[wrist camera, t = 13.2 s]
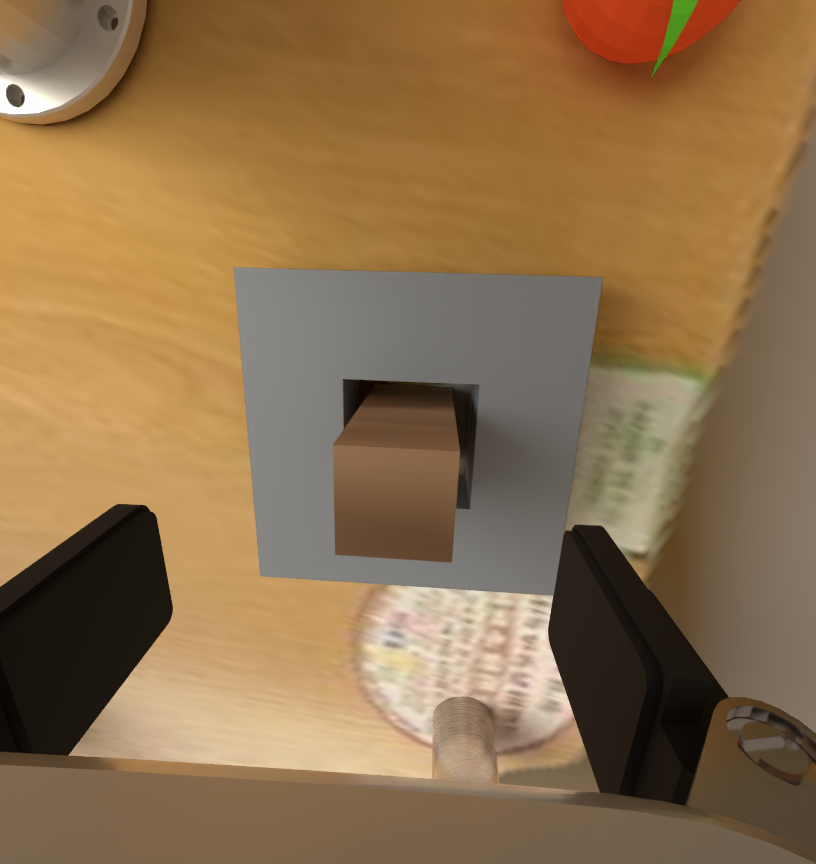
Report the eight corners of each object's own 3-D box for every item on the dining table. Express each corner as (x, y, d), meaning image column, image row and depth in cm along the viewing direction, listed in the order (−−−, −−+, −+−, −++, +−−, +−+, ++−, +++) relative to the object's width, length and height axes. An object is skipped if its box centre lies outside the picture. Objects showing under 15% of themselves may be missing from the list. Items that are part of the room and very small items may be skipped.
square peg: (376, 383, 23) (332, 444, 14) (451, 387, 23) (460, 451, 14) (375, 453, 24) (335, 555, 15) (446, 457, 24) (451, 562, 15)
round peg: (434, 694, 29) (432, 886, 20) (494, 699, 29) (521, 895, 20) (431, 739, 31) (428, 939, 21) (489, 743, 30) (512, 948, 21)
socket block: (269, 272, 22) (233, 267, 18) (573, 280, 21) (603, 277, 17) (285, 535, 26) (260, 576, 23) (536, 550, 26) (554, 595, 22)
